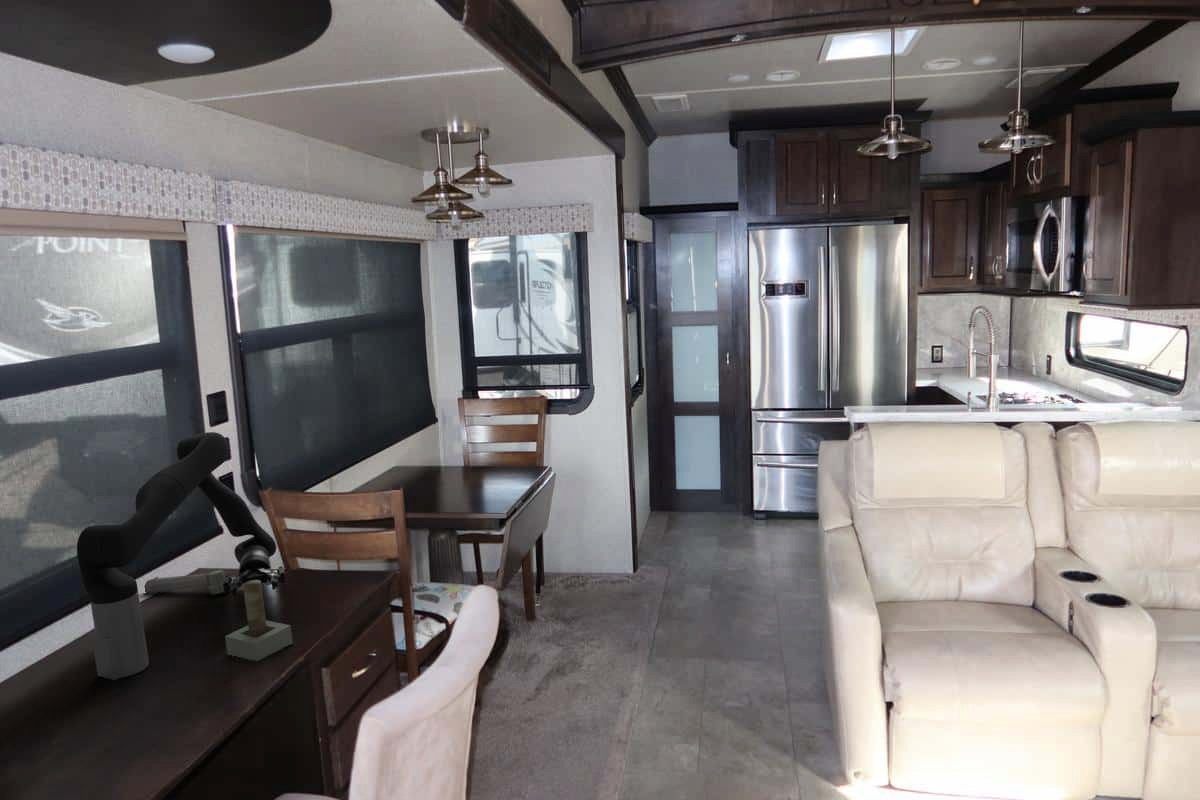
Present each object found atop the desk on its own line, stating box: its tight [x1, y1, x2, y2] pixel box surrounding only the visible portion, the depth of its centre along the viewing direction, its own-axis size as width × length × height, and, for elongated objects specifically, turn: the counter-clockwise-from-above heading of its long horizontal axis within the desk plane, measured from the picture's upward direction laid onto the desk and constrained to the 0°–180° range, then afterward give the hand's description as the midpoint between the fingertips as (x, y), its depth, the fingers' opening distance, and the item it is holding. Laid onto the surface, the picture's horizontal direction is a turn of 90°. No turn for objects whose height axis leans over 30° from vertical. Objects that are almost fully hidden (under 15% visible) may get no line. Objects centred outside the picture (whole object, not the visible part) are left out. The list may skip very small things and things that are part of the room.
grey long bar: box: [144, 569, 226, 595], centre depth 236 cm, size 5×7×25 cm
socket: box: [224, 619, 294, 661], centre depth 197 cm, size 10×10×4 cm
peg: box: [243, 580, 267, 638], centre depth 196 cm, size 4×4×16 cm
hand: (254, 589), depth 206 cm, fingers open, 8 cm apart
